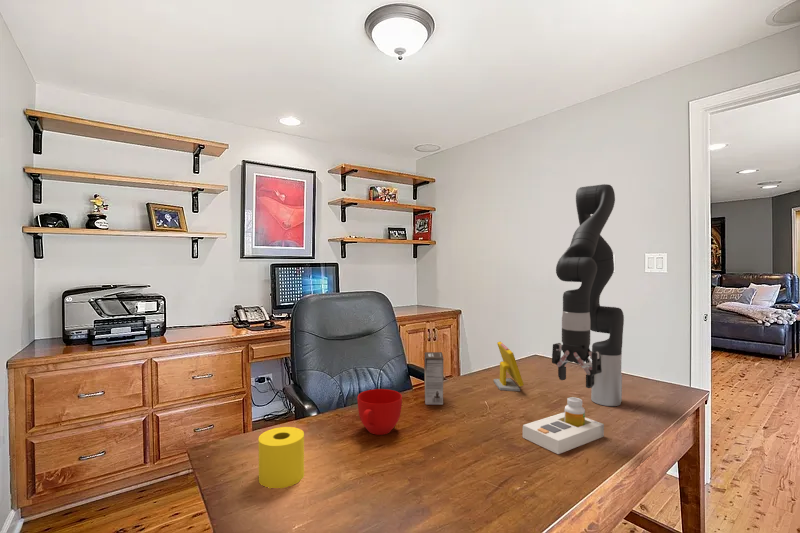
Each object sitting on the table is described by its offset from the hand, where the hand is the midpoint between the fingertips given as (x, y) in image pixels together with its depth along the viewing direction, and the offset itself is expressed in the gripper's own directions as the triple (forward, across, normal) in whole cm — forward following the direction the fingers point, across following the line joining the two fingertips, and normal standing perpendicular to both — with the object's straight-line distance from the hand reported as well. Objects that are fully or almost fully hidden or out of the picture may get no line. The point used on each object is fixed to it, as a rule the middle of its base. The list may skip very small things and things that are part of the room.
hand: (575, 383), depth 119 cm
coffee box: (+14, +43, +18) cm, 49 cm away
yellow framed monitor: (+15, +41, -16) cm, 46 cm away
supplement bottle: (+14, 0, 0) cm, 15 cm away
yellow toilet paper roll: (+13, +21, +78) cm, 82 cm away
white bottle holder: (+14, 0, +5) cm, 15 cm away
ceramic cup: (+14, +30, +48) cm, 59 cm away
